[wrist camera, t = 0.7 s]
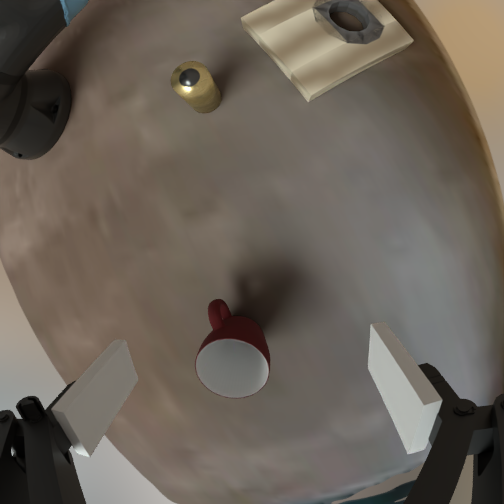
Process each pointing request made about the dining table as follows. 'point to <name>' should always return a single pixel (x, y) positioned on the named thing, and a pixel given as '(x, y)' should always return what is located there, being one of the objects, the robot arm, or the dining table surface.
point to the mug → (232, 354)
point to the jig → (324, 40)
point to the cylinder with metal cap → (196, 86)
